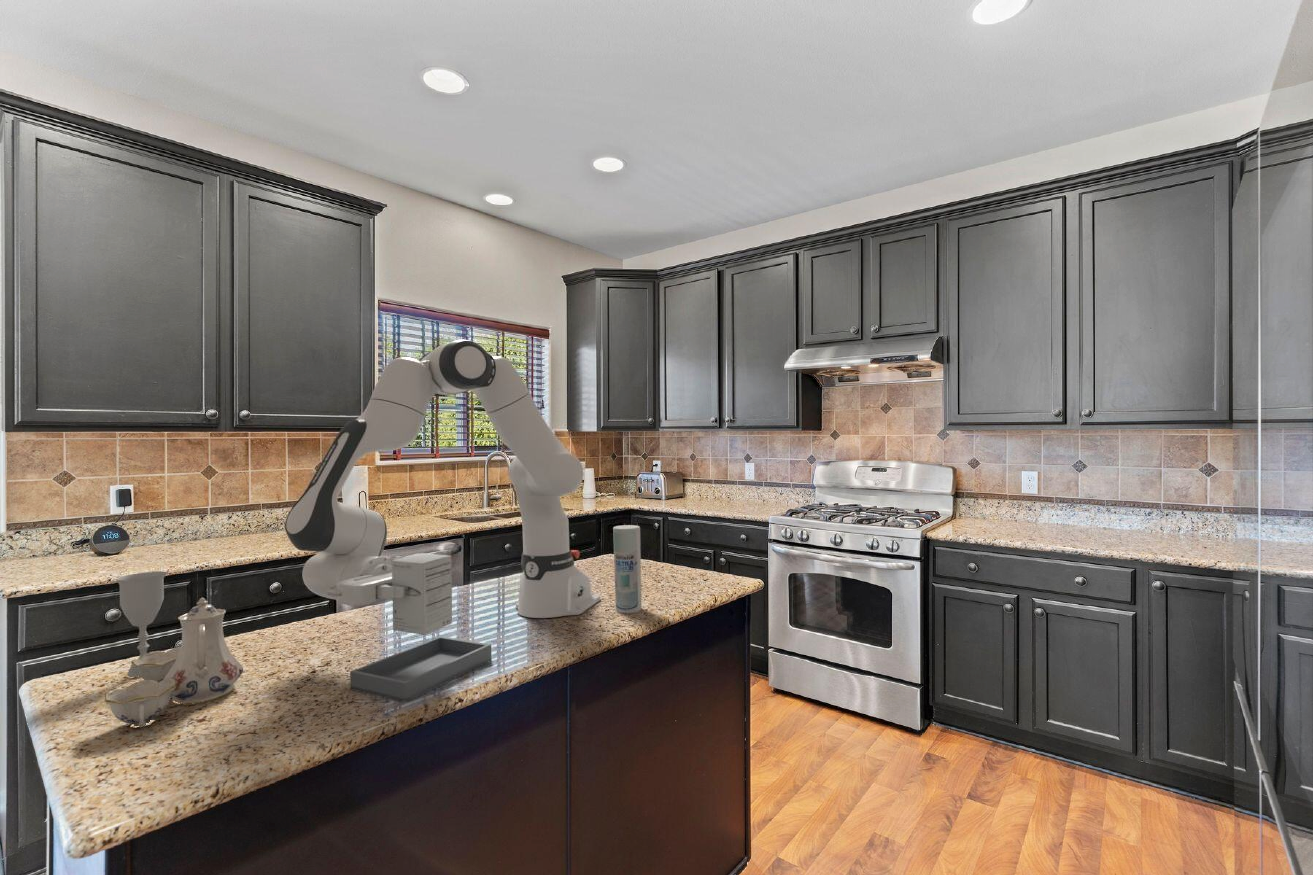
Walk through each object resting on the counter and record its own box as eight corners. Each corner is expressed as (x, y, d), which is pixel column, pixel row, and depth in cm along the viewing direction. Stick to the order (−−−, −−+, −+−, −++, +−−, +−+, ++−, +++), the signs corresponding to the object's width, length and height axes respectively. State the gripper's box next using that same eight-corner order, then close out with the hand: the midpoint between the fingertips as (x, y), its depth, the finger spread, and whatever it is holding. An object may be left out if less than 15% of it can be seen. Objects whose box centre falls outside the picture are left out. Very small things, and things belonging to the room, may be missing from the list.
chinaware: (130, 692, 108) (115, 601, 107) (243, 661, 118) (230, 577, 117) (105, 757, 85) (86, 641, 84) (248, 712, 95) (232, 607, 94)
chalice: (166, 662, 118) (164, 569, 118) (171, 671, 113) (169, 574, 113) (116, 673, 113) (114, 576, 113) (118, 683, 108) (116, 581, 108)
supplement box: (391, 631, 107) (389, 559, 107) (422, 619, 114) (421, 551, 114) (424, 636, 104) (422, 562, 104) (454, 623, 111) (452, 554, 111)
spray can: (611, 612, 145) (609, 528, 145) (619, 605, 152) (617, 524, 152) (638, 613, 144) (635, 528, 144) (645, 606, 150) (643, 525, 150)
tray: (440, 651, 121) (440, 636, 121) (491, 660, 115) (491, 644, 115) (350, 689, 103) (350, 671, 103) (405, 702, 97) (405, 683, 97)
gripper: (320, 574, 106) (375, 581, 99) (414, 553, 124) (466, 558, 118) (320, 610, 105) (376, 619, 99) (414, 585, 124) (466, 591, 118)
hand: (425, 586), depth 109 cm, fingers closed on supplement box, 7 cm apart
